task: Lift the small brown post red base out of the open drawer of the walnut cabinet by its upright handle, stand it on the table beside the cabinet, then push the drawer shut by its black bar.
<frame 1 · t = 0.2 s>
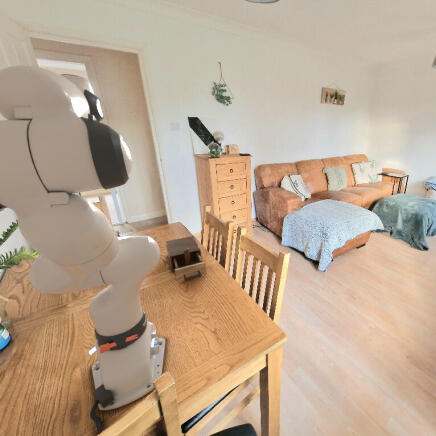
hand: (99, 180, 79), 48 cm above the table, tool pointing down, fingers open, 8 cm apart
decorative jar: (111, 263, 117), on the table
brown post red base: (189, 269, 111), point 2 cm above the table, touching drawer
cabinet: (184, 260, 122), on the table
drawer: (188, 266, 110), point 4 cm above the table, slide at 10.0 cm, touching brown post red base
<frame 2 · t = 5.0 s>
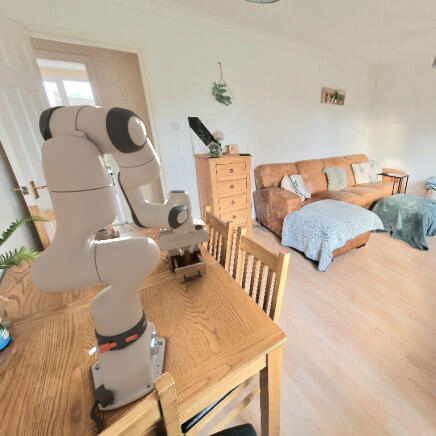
hand: (186, 254, 108), 11 cm above the table, tool pointing down, fingers closed on brown post red base, 2 cm apart
brown post red base: (189, 269, 111), point 2 cm above the table, touching drawer, gripper
everything else where it was.
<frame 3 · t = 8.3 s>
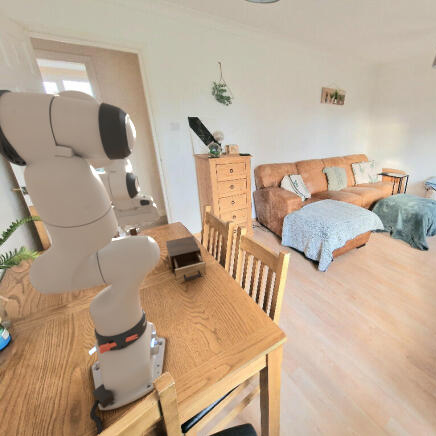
hand: (134, 233, 95), 24 cm above the table, tool pointing down, fingers closed on brown post red base, 2 cm apart
brown post red base: (138, 252, 99), point 15 cm above the table, touching gripper
drawer: (188, 266, 110), point 4 cm above the table, slide at 10.0 cm
everything else where it was.
when the fingers open (8 cm above the table, at t = 11.9 s): brown post red base stays where it is, on the table.
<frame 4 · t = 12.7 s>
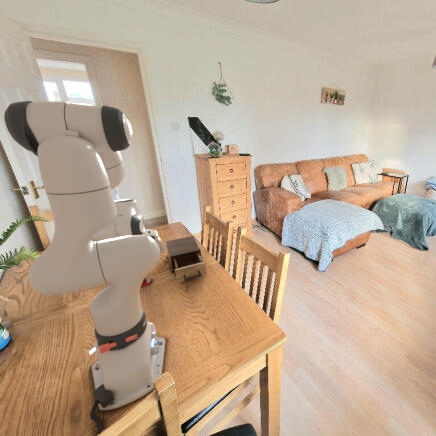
hand: (140, 266, 101), 9 cm above the table, tool pointing down, fingers open, 8 cm apart
brown post red base: (144, 282, 104), on the table
everything else where it was.
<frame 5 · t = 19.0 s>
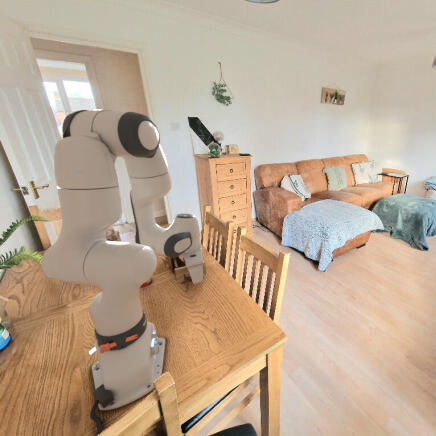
hand: (194, 279, 101), 4 cm above the table, tool pointing down, fingers closed
drawer: (188, 266, 110), point 4 cm above the table, slide at 9.7 cm, touching gripper
everything else where it was.
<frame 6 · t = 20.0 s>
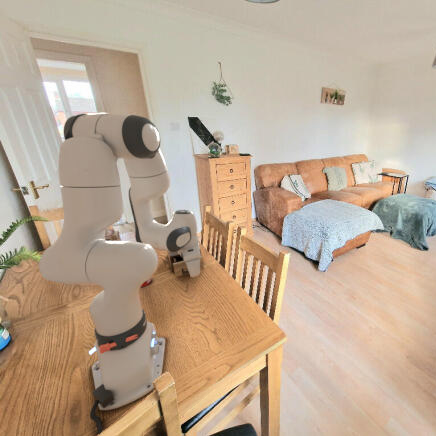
hand: (192, 273, 105), 4 cm above the table, tool pointing down, fingers closed
drawer: (186, 261, 114), point 4 cm above the table, slide at 4.9 cm, touching gripper
everything else where it was.
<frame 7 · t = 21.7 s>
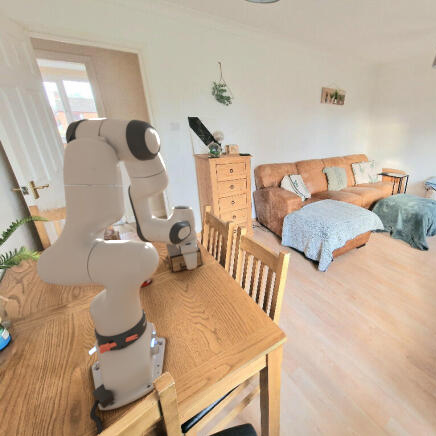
hand: (189, 267, 110), 4 cm above the table, tool pointing down, fingers closed, pressing on drawer
drawer: (184, 256, 117), point 4 cm above the table, slide at 0.0 cm, touching cabinet, gripper
everything else where it was.
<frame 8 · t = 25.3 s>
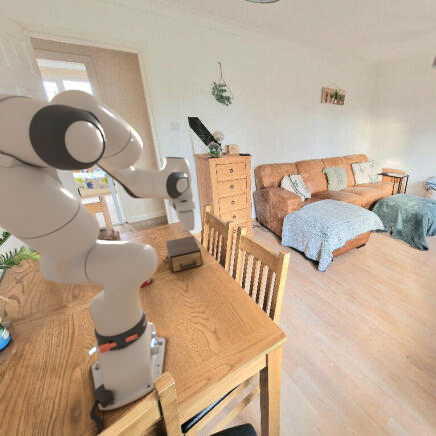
hand: (186, 232, 96), 25 cm above the table, tool pointing down, fingers closed
drawer: (184, 256, 117), point 4 cm above the table, slide at 0.0 cm, touching cabinet
everything else where it was.
at the end: brown post red base inside the target area (0.2 cm from its centre), on the table; the gripper is holding nothing; drawer slide at 0.0 cm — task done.
